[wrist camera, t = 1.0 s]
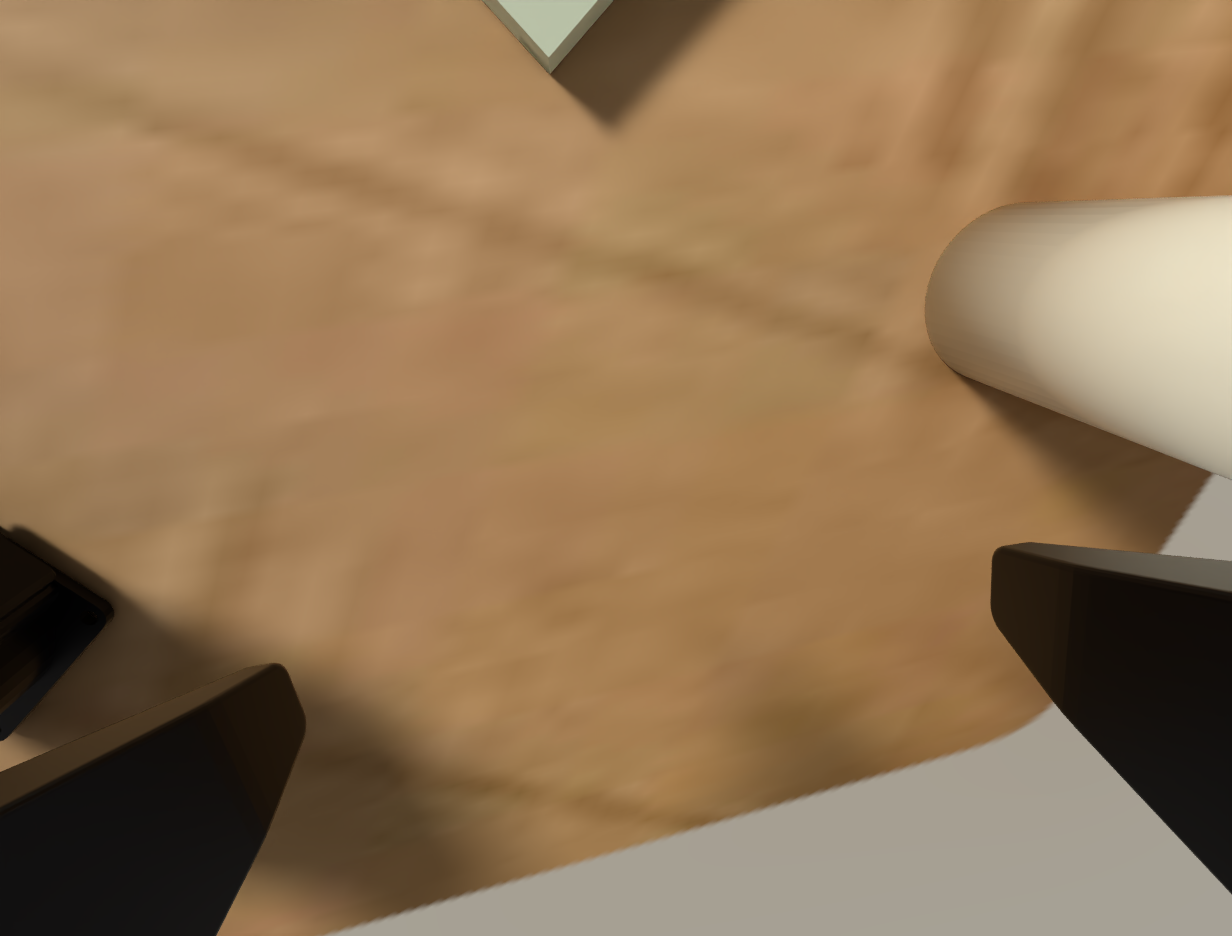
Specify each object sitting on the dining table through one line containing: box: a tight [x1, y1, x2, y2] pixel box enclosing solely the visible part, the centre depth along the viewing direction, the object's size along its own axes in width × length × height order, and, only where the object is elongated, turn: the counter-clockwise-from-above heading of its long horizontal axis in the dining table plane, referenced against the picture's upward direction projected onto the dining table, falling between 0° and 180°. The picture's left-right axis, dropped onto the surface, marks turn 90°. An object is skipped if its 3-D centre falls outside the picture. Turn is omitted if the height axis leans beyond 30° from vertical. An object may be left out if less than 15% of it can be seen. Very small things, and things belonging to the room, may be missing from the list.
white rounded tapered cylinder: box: [925, 195, 1232, 480], centre depth 15 cm, size 5×5×12 cm
